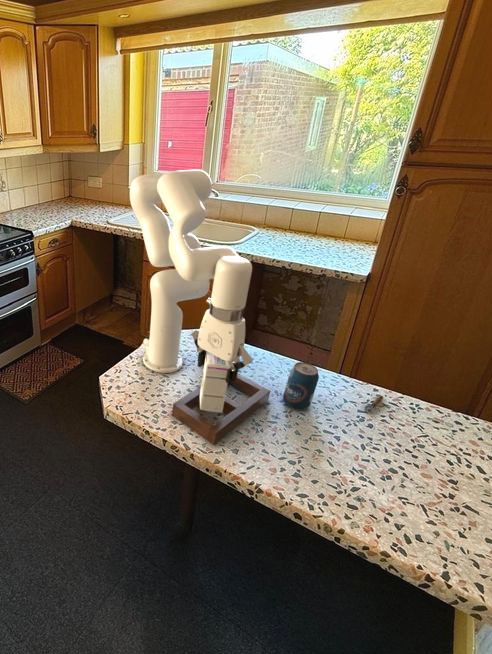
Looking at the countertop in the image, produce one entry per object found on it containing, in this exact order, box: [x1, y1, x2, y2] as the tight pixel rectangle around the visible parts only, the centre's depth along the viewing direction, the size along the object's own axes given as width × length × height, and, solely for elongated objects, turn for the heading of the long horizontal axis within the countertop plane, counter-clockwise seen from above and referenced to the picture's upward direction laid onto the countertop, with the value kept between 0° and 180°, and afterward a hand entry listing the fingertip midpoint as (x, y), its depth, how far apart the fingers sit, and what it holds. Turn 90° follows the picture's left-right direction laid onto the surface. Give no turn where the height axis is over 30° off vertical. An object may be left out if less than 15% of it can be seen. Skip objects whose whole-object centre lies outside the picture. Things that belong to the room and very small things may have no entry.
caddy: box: [171, 372, 271, 446], centre depth 108 cm, size 14×25×4 cm, turn 129°
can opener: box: [364, 395, 384, 412], centre depth 110 cm, size 9×2×1 cm, turn 123°
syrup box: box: [199, 352, 230, 414], centre depth 100 cm, size 6×6×14 cm
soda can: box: [282, 361, 320, 411], centre depth 108 cm, size 7×7×12 cm
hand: (215, 372), depth 99 cm, fingers closed on syrup box, 7 cm apart
